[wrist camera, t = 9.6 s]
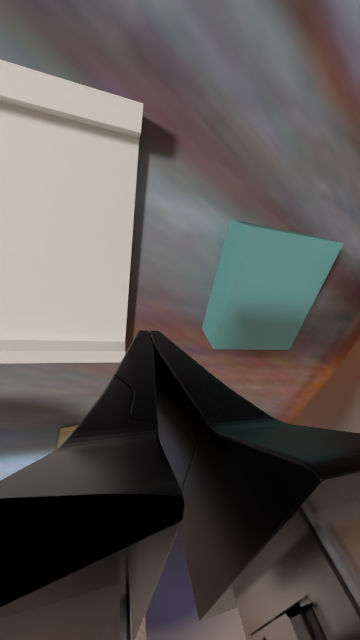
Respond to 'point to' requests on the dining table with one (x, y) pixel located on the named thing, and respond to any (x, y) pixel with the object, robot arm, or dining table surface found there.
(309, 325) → the dining table surface
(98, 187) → the tray
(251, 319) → the teal rectangular block
